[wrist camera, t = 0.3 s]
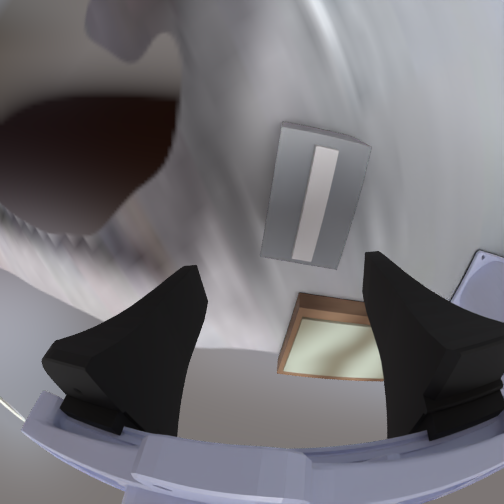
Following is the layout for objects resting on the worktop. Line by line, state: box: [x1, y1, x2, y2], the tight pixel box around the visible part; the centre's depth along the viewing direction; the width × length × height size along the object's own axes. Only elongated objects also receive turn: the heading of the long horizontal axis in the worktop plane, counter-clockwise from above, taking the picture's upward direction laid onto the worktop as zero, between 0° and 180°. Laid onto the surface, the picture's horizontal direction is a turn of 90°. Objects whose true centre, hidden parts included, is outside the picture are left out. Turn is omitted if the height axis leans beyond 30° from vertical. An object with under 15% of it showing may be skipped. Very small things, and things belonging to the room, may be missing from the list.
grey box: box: [260, 122, 372, 270], centre depth 17 cm, size 5×8×6 cm, turn 172°
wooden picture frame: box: [277, 293, 384, 381], centre depth 26 cm, size 13×10×2 cm
